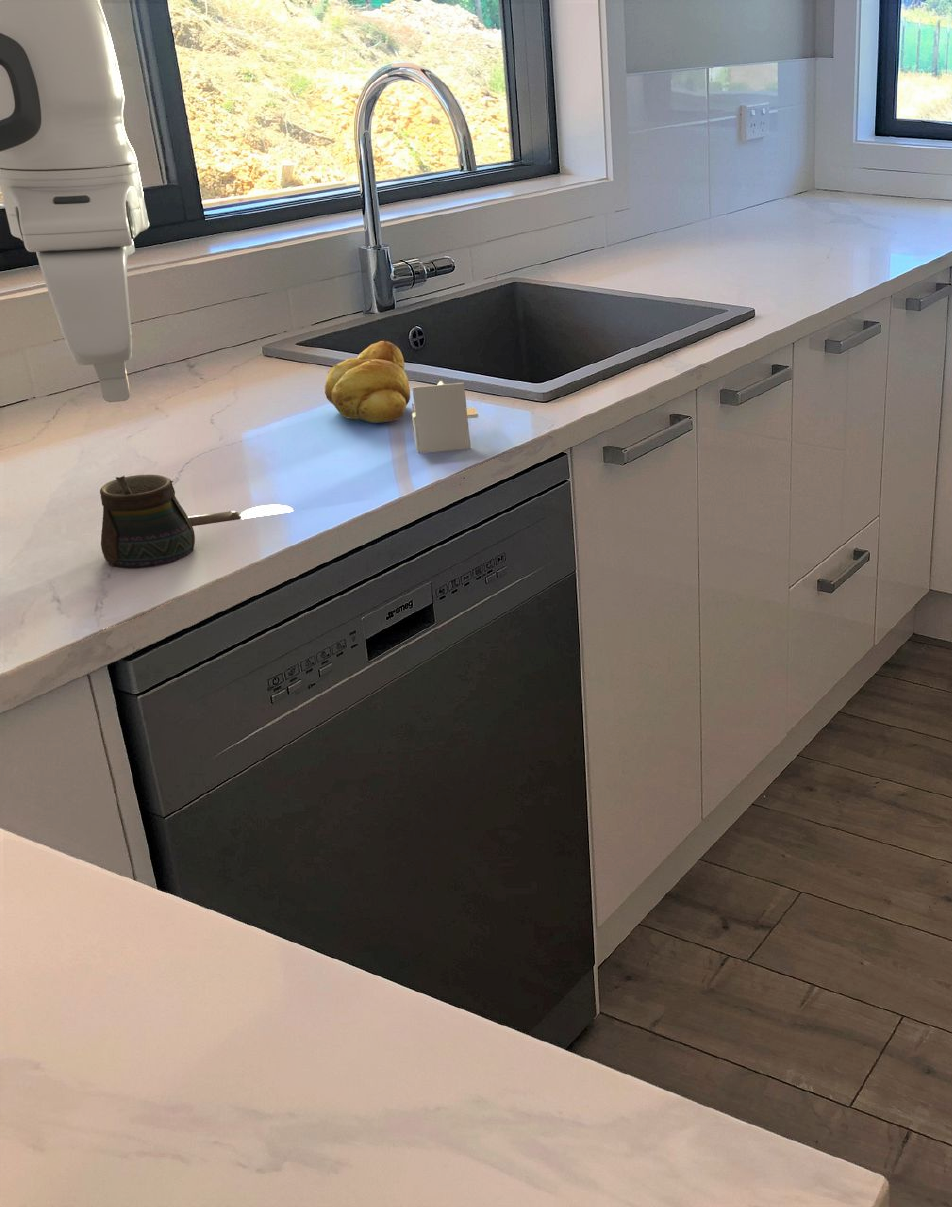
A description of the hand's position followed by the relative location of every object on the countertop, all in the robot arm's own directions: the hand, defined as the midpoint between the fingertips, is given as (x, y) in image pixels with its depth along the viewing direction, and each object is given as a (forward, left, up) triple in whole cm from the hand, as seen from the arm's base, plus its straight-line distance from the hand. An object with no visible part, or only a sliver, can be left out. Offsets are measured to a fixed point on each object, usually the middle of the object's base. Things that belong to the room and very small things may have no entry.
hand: (117, 397), depth 99 cm
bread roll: (+25, +52, -18) cm, 60 cm away
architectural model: (+30, +35, -18) cm, 49 cm away
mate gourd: (0, +9, -18) cm, 20 cm away
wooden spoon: (+5, +18, -18) cm, 26 cm away
